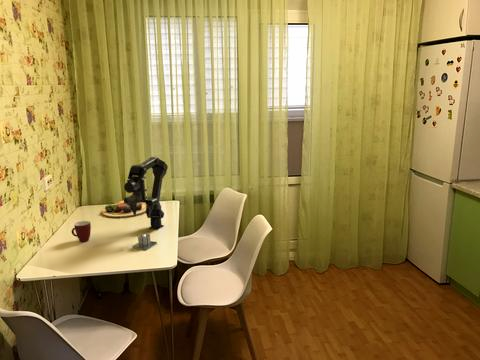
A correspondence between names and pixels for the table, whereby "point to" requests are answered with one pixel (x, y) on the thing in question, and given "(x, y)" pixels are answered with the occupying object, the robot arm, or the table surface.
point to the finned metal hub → (144, 246)
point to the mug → (82, 230)
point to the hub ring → (144, 240)
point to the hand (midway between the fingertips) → (141, 215)
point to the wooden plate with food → (123, 210)
